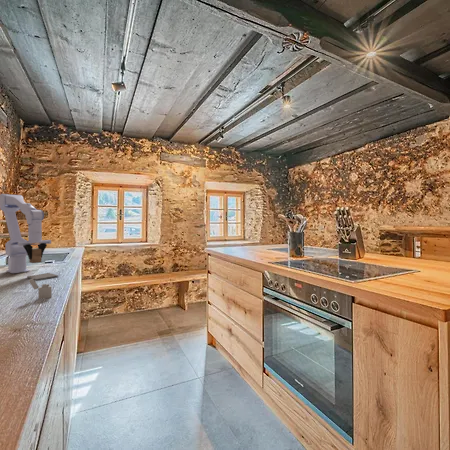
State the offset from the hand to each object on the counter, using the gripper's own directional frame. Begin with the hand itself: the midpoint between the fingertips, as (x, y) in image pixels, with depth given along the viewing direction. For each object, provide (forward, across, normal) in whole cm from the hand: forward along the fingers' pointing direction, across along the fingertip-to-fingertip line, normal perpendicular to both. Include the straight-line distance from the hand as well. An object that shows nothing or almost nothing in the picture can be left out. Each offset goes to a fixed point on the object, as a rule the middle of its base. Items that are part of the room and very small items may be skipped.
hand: (35, 258), depth 138 cm
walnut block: (+2, 0, 0) cm, 2 cm away
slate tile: (+9, 0, -8) cm, 12 cm away
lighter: (+9, -15, -45) cm, 48 cm away
